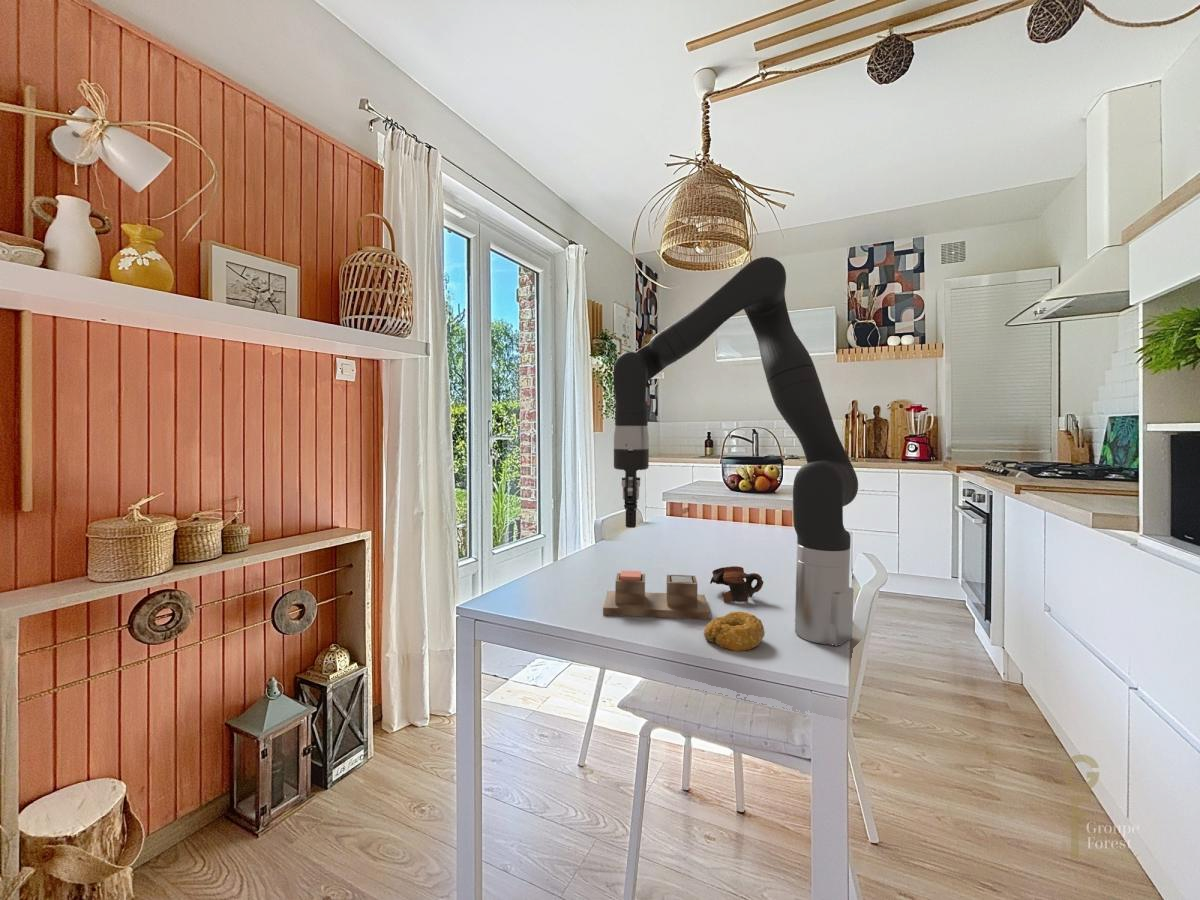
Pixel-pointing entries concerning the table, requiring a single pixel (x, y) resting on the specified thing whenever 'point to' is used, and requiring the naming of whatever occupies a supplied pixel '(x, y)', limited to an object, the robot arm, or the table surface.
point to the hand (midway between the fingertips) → (630, 527)
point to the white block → (681, 579)
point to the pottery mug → (736, 583)
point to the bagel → (735, 631)
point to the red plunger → (630, 575)
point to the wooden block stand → (656, 600)
